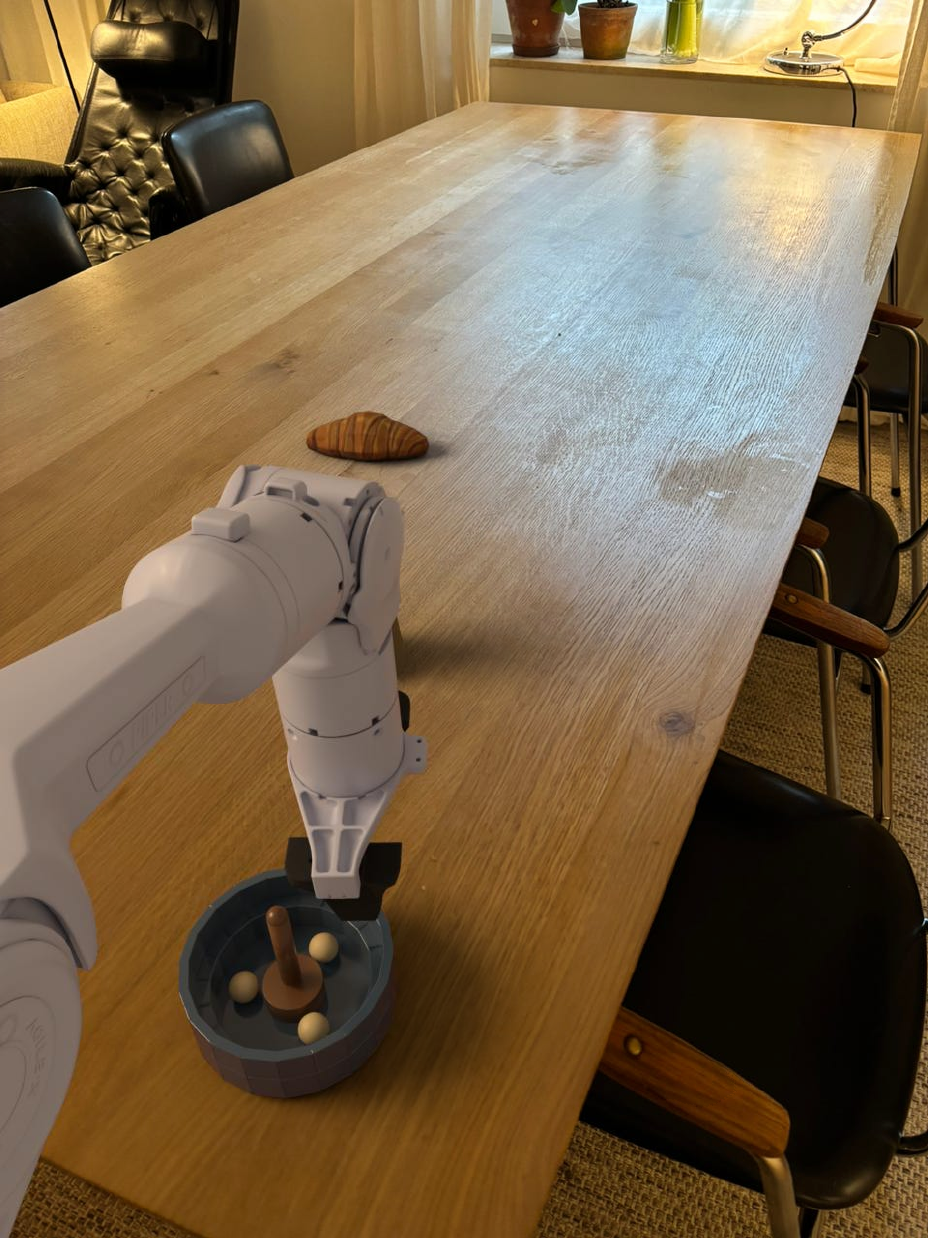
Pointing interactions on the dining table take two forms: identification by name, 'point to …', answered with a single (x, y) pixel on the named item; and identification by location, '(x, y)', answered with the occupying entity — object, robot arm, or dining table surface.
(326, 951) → the chickpea
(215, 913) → the bowl
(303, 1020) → the chickpea
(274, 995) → the wooden pestle
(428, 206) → the dining table surface
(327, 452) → the croissant
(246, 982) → the chickpea
